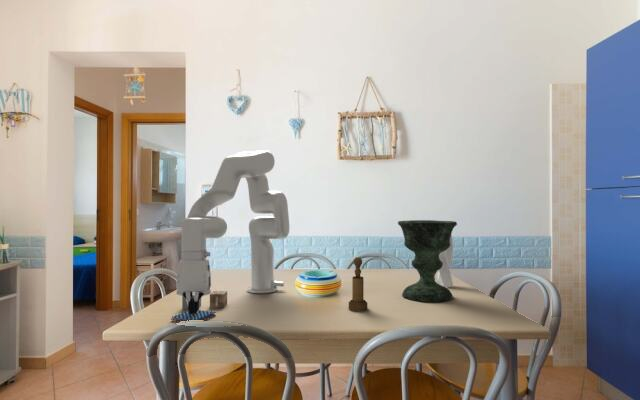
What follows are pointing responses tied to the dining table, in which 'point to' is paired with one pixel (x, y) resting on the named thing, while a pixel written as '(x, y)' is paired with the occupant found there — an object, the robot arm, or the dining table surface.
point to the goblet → (427, 257)
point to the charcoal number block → (185, 302)
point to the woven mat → (193, 316)
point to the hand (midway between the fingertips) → (193, 312)
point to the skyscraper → (445, 267)
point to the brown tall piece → (357, 289)
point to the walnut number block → (218, 299)
